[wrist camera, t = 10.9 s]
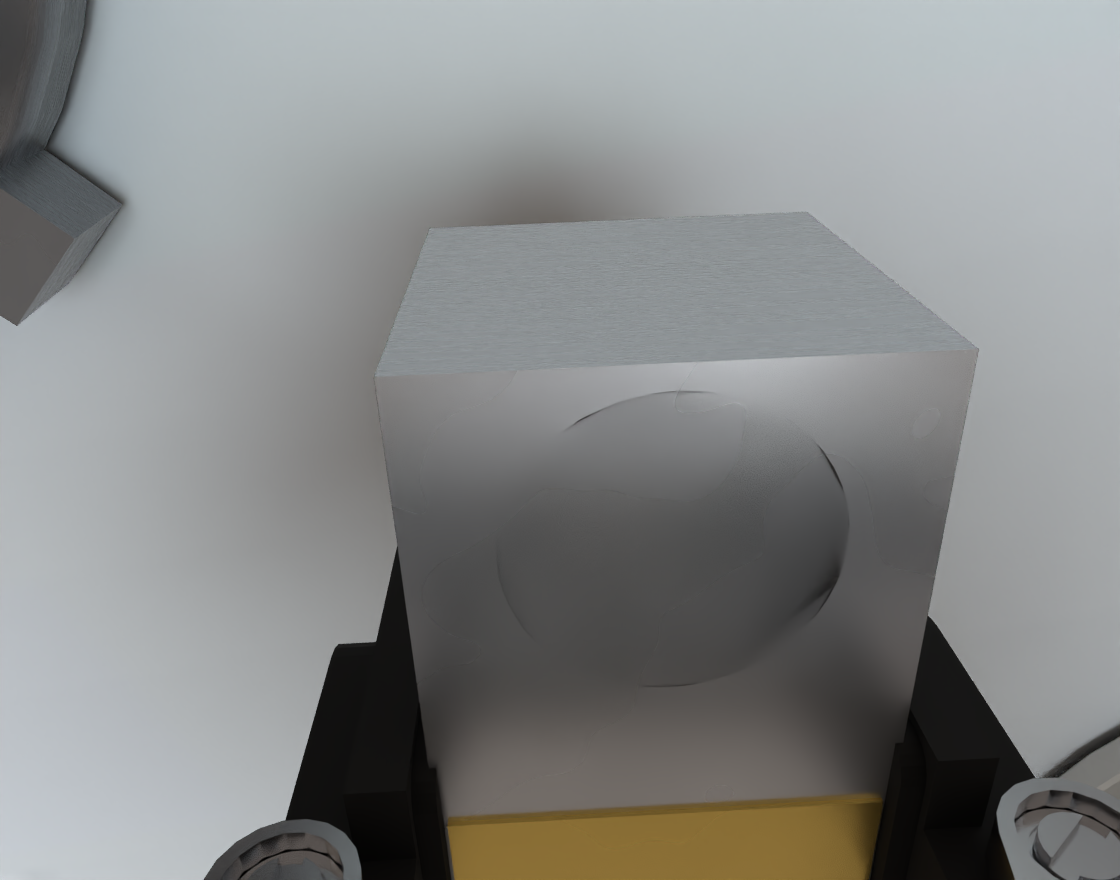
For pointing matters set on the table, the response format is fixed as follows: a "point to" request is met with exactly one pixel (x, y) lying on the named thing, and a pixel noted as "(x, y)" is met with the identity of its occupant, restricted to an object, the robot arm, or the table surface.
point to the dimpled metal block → (666, 540)
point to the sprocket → (40, 158)
